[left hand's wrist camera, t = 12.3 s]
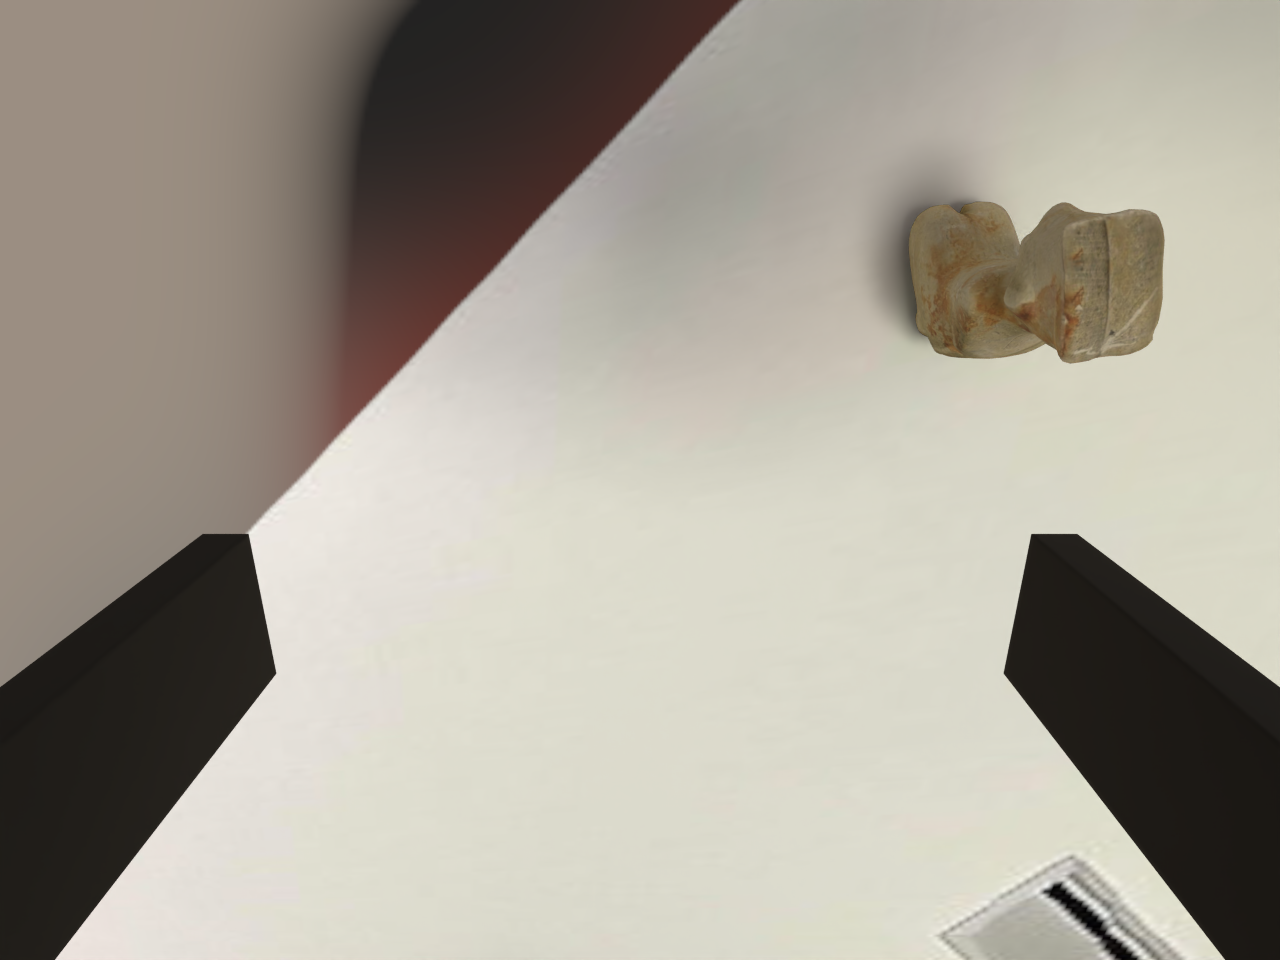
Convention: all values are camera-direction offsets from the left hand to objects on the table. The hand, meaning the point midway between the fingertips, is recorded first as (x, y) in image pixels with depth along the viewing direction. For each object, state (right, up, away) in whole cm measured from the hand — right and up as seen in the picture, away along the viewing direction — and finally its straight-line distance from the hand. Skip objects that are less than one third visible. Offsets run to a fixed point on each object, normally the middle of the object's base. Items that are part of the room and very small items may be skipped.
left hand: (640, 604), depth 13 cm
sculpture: (+16, +13, +27) cm, 34 cm away
